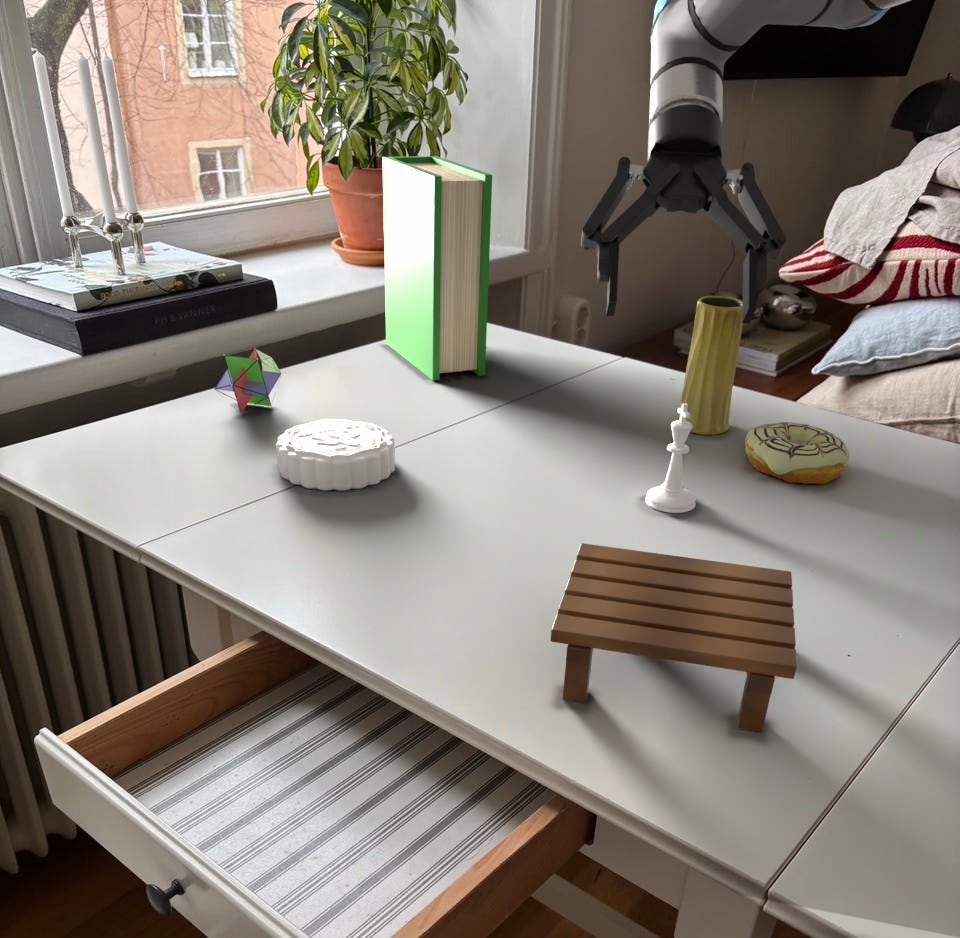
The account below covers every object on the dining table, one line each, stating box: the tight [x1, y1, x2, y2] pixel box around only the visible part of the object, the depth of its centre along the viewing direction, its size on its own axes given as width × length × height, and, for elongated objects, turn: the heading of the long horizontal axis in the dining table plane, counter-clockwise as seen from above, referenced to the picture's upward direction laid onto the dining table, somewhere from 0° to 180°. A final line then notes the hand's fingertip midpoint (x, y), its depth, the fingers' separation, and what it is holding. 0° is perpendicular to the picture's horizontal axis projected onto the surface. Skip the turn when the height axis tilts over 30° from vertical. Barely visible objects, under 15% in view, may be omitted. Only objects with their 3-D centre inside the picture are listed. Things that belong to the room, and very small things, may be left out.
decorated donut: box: [744, 421, 850, 485], centre depth 105 cm, size 10×11×4 cm
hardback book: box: [382, 155, 493, 382], centre depth 129 cm, size 18×7×24 cm, turn 24°
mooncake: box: [275, 418, 396, 492], centre depth 101 cm, size 12×12×4 cm
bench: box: [550, 542, 798, 733], centre depth 72 cm, size 16×14×6 cm
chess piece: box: [644, 403, 697, 514], centre depth 95 cm, size 5×5×10 cm
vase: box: [676, 295, 744, 436], centre depth 112 cm, size 6×6×14 cm
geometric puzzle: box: [213, 347, 283, 415], centre depth 115 cm, size 7×7×8 cm
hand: (680, 312), depth 98 cm, fingers open, 13 cm apart
